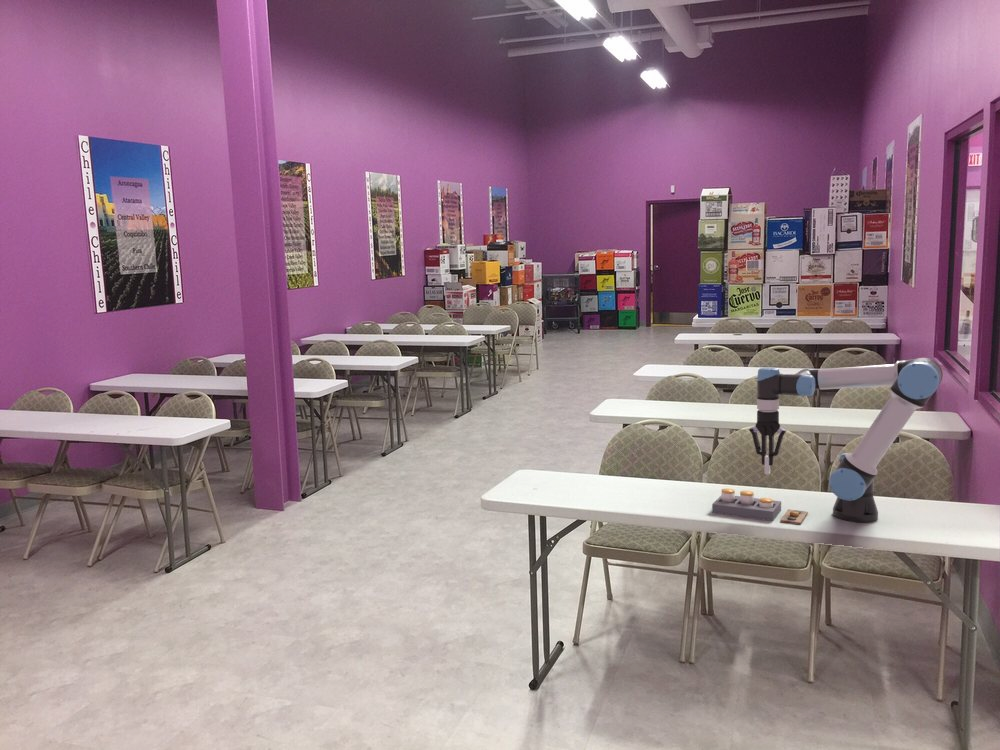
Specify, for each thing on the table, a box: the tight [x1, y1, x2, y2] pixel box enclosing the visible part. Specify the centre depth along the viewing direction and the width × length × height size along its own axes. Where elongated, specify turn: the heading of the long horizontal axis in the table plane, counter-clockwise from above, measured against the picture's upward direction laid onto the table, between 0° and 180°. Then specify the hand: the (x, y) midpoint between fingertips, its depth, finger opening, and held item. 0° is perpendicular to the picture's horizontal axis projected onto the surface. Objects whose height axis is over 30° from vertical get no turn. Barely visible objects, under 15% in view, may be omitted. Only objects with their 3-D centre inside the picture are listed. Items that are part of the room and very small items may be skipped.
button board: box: [711, 495, 782, 522], centre depth 304 cm, size 22×14×4 cm, turn 60°
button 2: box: [758, 497, 774, 508], centre depth 300 cm, size 5×5×4 cm
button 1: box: [720, 488, 736, 503], centre depth 307 cm, size 5×5×4 cm
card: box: [779, 508, 809, 525], centre depth 296 cm, size 7×14×2 cm, turn 150°
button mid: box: [739, 490, 755, 506], centre depth 304 cm, size 5×5×4 cm
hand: (767, 473), depth 299 cm, fingers closed
